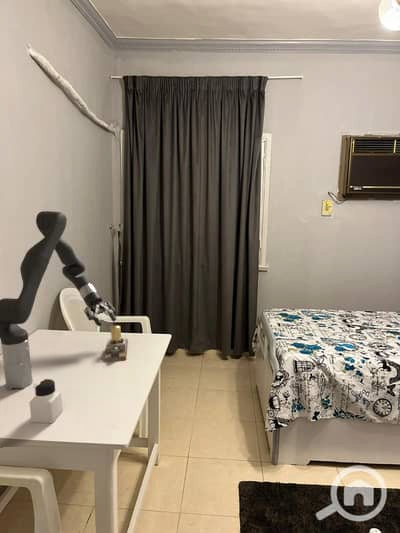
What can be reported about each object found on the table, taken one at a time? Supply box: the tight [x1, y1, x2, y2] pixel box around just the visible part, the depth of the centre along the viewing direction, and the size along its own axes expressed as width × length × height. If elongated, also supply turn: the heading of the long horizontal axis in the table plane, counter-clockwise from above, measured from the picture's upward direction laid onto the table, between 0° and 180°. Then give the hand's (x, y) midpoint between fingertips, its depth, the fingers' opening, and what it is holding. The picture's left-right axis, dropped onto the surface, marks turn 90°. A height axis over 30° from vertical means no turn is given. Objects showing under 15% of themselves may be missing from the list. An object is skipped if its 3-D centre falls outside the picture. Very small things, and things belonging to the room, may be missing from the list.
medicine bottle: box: [29, 378, 63, 424], centre depth 122 cm, size 7×7×12 cm
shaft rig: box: [104, 337, 129, 362], centre depth 176 cm, size 24×9×6 cm, turn 9°
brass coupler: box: [110, 324, 122, 344], centre depth 175 cm, size 4×4×10 cm
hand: (107, 323), depth 177 cm, fingers open, 8 cm apart
